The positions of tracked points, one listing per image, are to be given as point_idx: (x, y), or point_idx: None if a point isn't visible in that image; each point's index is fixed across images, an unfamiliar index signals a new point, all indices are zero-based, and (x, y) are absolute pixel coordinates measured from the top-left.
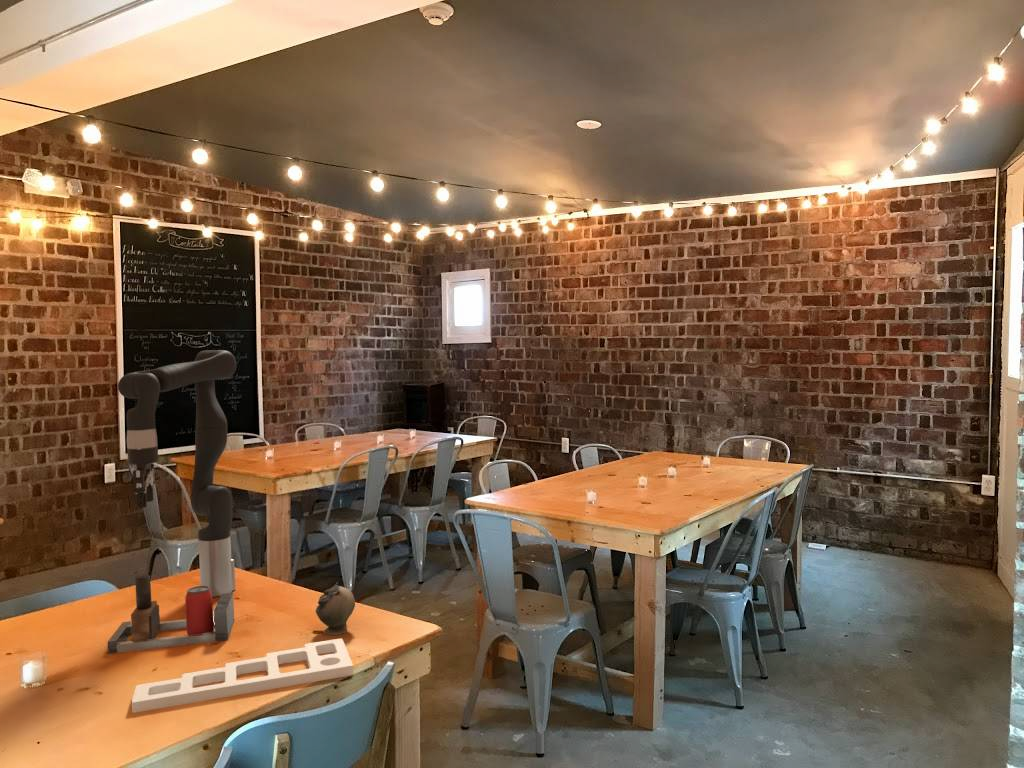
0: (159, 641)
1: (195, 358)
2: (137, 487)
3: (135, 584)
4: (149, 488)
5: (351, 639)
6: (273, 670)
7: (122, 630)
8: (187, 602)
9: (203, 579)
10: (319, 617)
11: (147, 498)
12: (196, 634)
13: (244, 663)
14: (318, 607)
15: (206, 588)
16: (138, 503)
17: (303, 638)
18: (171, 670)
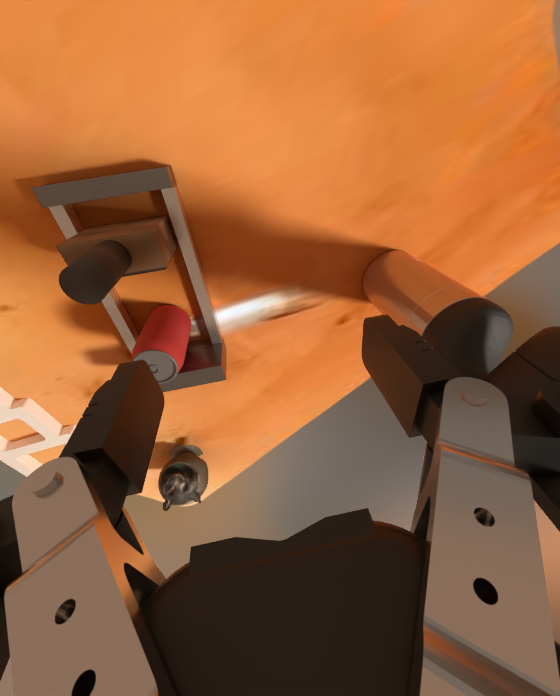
0: None
1: None
2: (32, 551)
3: (75, 261)
4: (414, 420)
5: (158, 468)
6: (19, 452)
7: (109, 193)
8: (135, 344)
9: (386, 275)
10: (169, 462)
11: (372, 345)
12: (128, 335)
13: (29, 423)
14: (184, 464)
15: (167, 376)
16: (93, 399)
17: (158, 434)
18: (10, 333)
